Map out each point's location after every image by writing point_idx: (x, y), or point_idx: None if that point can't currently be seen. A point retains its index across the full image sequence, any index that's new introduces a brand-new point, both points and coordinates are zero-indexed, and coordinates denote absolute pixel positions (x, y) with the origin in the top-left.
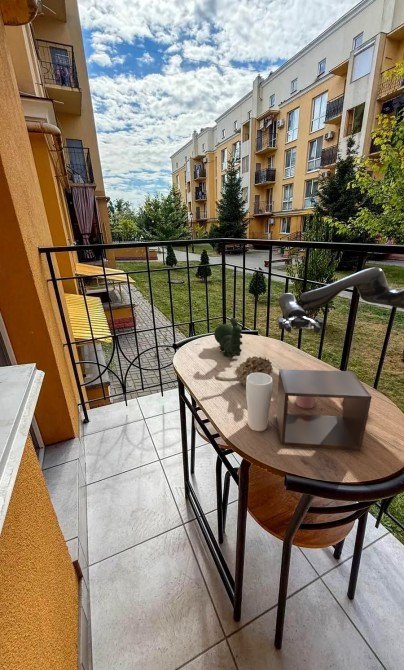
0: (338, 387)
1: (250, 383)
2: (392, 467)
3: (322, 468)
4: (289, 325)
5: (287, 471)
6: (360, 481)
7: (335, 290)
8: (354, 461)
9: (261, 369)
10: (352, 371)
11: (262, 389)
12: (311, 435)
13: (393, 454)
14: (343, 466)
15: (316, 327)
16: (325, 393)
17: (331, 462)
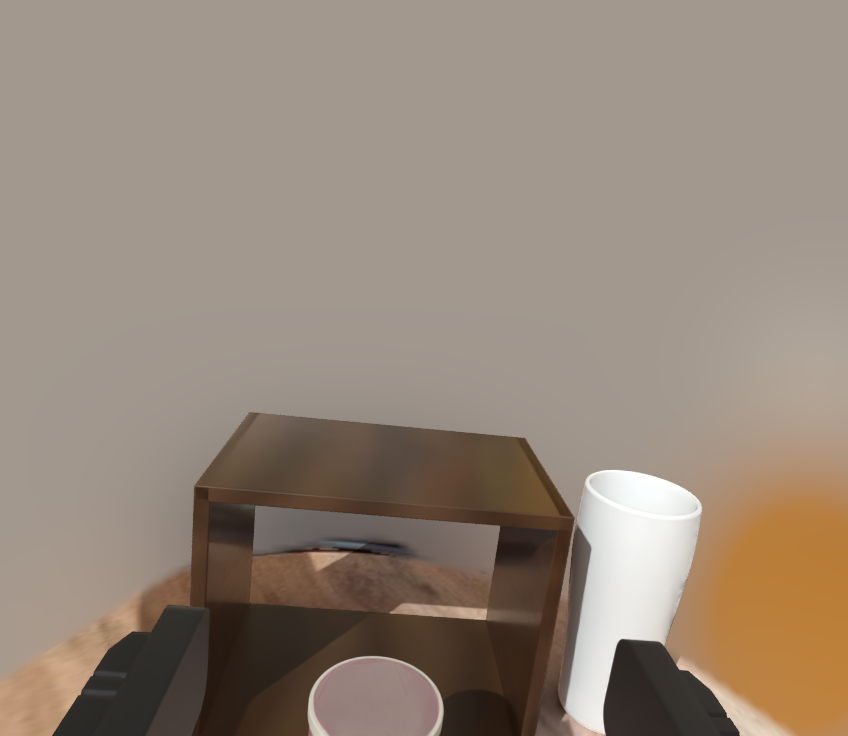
0: (335, 437)
1: (662, 483)
2: (188, 574)
3: (384, 576)
4: (669, 680)
5: (474, 572)
6: (303, 552)
7: None
8: (284, 589)
9: None
10: (196, 484)
11: (608, 487)
12: (390, 640)
13: (140, 604)
14: (324, 579)
15: (205, 621)
16: (394, 427)
17: (352, 587)
